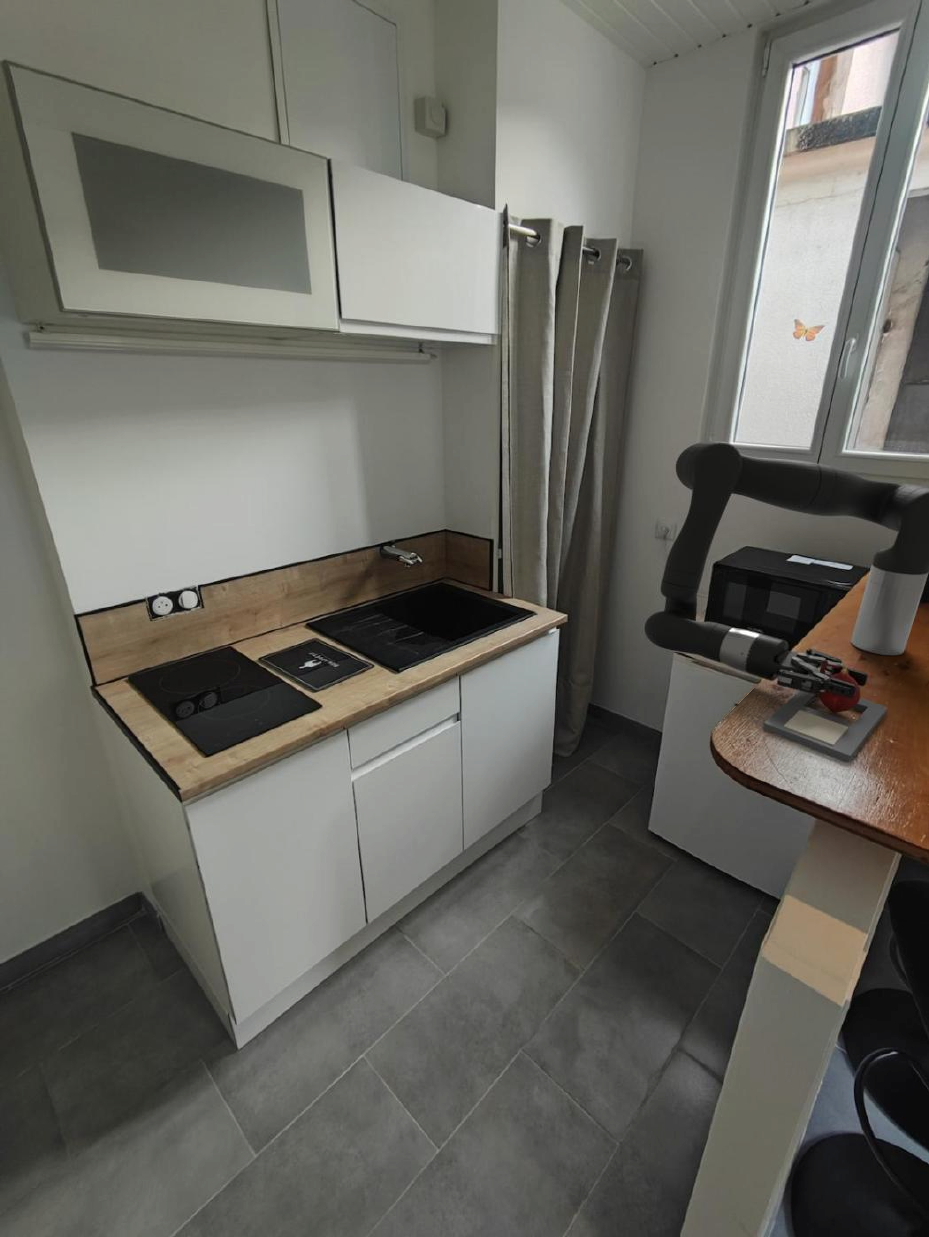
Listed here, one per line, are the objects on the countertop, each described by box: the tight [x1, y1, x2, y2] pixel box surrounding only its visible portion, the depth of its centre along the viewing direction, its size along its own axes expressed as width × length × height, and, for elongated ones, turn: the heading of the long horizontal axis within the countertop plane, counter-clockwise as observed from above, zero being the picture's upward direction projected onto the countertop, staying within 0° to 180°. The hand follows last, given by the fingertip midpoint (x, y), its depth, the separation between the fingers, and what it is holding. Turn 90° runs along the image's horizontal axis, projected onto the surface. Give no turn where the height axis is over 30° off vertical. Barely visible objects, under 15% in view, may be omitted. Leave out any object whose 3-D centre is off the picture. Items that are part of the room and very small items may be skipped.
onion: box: [818, 668, 861, 714], centre depth 94 cm, size 6×6×8 cm
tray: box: [762, 690, 889, 764], centre depth 92 cm, size 20×12×1 cm, turn 133°
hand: (860, 686), depth 91 cm, fingers closed on onion, 5 cm apart
